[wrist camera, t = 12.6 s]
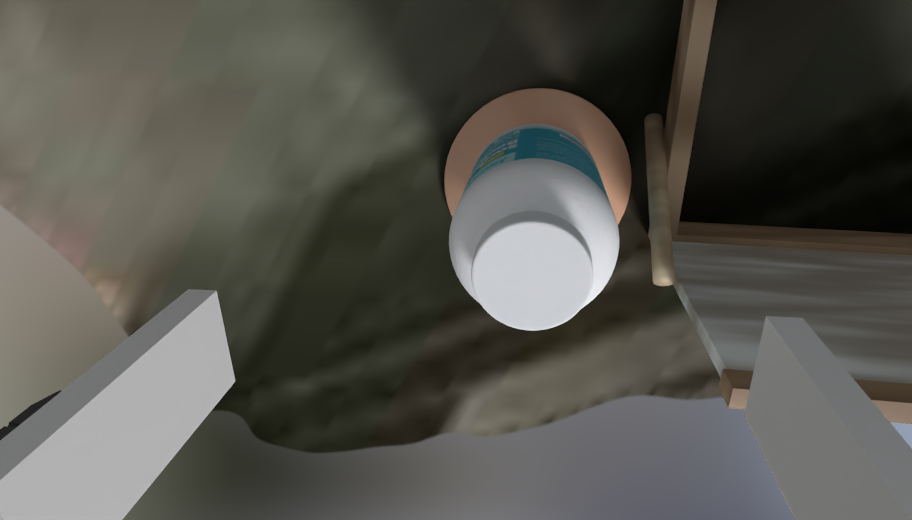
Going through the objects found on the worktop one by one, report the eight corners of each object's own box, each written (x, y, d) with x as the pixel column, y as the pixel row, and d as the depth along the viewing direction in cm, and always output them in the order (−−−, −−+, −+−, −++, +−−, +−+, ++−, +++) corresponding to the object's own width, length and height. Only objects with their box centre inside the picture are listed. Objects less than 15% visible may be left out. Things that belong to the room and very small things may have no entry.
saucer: (446, 84, 33) (444, 85, 33) (642, 90, 32) (643, 91, 32) (445, 260, 38) (443, 263, 37) (617, 271, 36) (619, 275, 36)
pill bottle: (500, 100, 33) (479, 149, 20) (620, 150, 33) (670, 228, 21) (454, 216, 36) (410, 319, 23) (564, 261, 36) (578, 387, 24)
